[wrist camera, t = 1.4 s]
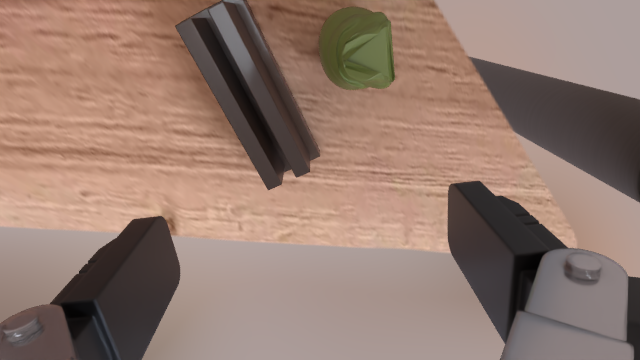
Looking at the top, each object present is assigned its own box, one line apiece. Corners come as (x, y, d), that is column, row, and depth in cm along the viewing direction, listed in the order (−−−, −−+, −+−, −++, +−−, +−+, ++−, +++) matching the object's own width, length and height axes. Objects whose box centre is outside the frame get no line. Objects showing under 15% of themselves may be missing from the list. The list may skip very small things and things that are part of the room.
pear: (313, 12, 30) (315, 11, 21) (381, 2, 30) (412, -4, 21) (323, 85, 33) (328, 112, 23) (386, 75, 32) (417, 99, 23)
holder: (242, -8, 30) (228, -13, 25) (319, 150, 35) (321, 173, 30) (185, 22, 30) (161, 23, 25) (269, 173, 35) (263, 199, 30)
